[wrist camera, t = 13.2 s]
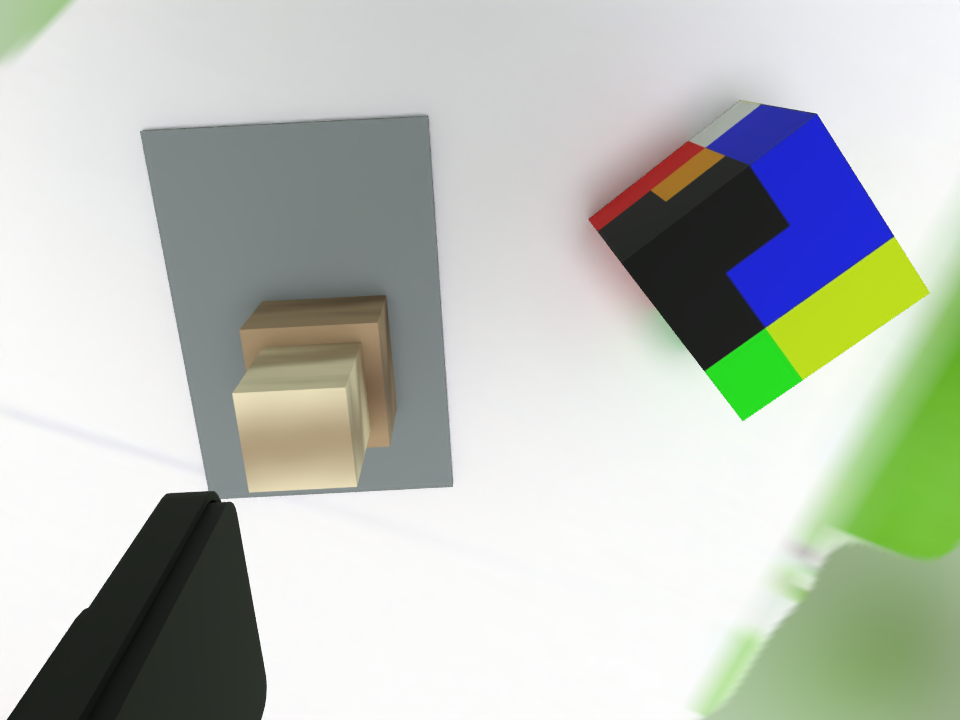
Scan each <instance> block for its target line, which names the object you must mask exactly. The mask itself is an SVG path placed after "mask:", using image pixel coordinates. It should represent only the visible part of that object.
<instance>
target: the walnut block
mask: <svg viewBox="0 0 960 720" xmlns="http://www.w3.org/2000/svg"><path fill="white" fill-rule="evenodd" d="M240 337H241V343H242V349H243V355H244V361H245V368H246V372H247V370H248V369H249V368H250V366H251V365H252V363H253V362H254V360H255V359H256V357H257V356H258V354H259V353H260V351H261V350H262V348H263V347H271V346H291V345H310V344H330V343H349V342H361V344H362V353H363V363H364V372H365V382H366V391H367V401H368V410H369V420H370V429H371V431H370V435H369V439H368V443H367V447H366V448H371V447H390V443H391V437H392V432H393V426H394V421H395V415H396V410H397V406H396V395H395V384H394V373H393V362H392V351H391V341H390V330H389V319H388V308H387V297H386V295H375V296H356V297H337V298H317V299H298V300H279V301H262V302H261V303H260V305H259V306H258V307H257V308H256V310H255V311H254V312H253V313H252V315H251V316H250V317H249V318H248V320H247V321H246V322H245V323H244V325H243V326H242V327H241V328H240Z"/></svg>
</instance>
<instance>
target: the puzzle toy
mask: <svg viewBox="0 0 960 720" xmlns="http://www.w3.org/2000/svg"><path fill="white" fill-rule="evenodd" d="M589 221H590V222H591V223H592V225H593V226H594V227H595V229H596V230H597V231H598V233H599V234H600V235H601V237H602V238H603V239H604V241H605V242H606V243H607V245H608V246H609V247H610V249H611V250H612V251H613V253H614V254H615V255H616V257H617V258H618V259H619V261H620V262H621V263H622V264H623V266H624V267H625V268H626V270H627V271H628V272H629V274H630V275H631V276H632V278H633V279H634V280H635V281H636V283H637V284H638V285H639V287H640V288H641V289H642V291H643V292H644V293H645V294H646V296H647V297H648V298H649V300H650V301H651V302H652V304H653V305H654V306H655V307H656V309H657V310H658V311H659V313H660V314H661V315H662V317H663V318H664V319H665V321H666V322H667V323H668V324H669V326H670V327H671V328H672V330H673V331H674V332H675V334H676V335H677V336H678V337H679V339H680V340H681V341H682V343H683V344H684V345H685V347H686V348H687V349H688V350H689V352H690V353H691V354H692V356H693V357H694V358H695V360H696V361H697V362H698V364H699V365H700V366H701V367H702V369H703V370H704V371H705V373H706V374H707V375H708V377H709V378H710V379H711V380H712V382H713V383H714V384H715V386H716V387H717V388H718V390H719V391H720V392H721V394H722V395H723V396H724V397H725V399H726V400H727V401H728V403H729V404H730V405H731V407H732V408H733V409H734V410H735V412H736V413H737V414H738V416H739V417H740V418H741V420H742V421H744V420H745V419H747V418H748V417H750V416H751V415H753V414H754V413H756V412H757V411H758V410H760V409H761V408H763V407H764V406H766V405H767V404H769V403H770V402H772V401H773V400H775V399H776V398H777V397H779V396H780V395H782V394H783V393H785V392H786V391H788V390H789V389H791V388H792V387H794V386H795V385H796V384H798V383H799V382H801V381H802V380H804V379H805V378H807V377H808V376H810V375H811V374H812V373H814V372H815V371H817V370H818V369H820V368H821V367H823V366H824V365H826V364H827V363H829V362H830V361H831V360H833V359H834V358H836V357H837V356H839V355H840V354H842V353H843V352H845V351H846V350H848V349H849V348H850V347H852V346H853V345H855V344H856V343H858V342H859V341H861V340H862V339H864V338H865V337H866V336H868V335H869V334H871V333H872V332H874V331H875V330H877V329H878V328H880V327H881V326H883V325H884V324H885V323H887V322H888V321H890V320H891V319H893V318H894V317H896V316H897V315H899V314H900V313H901V312H903V311H904V310H906V309H907V308H909V307H910V306H912V305H913V304H915V303H916V302H918V301H919V300H920V299H922V298H923V297H925V296H926V295H928V294H929V293H930V292H929V291H928V289H927V287H926V286H925V284H924V283H923V281H922V280H921V278H920V276H919V275H918V273H917V272H916V270H915V268H914V267H913V265H912V264H911V262H910V261H909V259H908V257H907V256H906V254H905V253H904V251H903V249H902V248H901V246H900V245H899V243H898V241H897V240H896V238H895V237H894V235H893V234H892V232H891V230H890V229H889V227H888V226H887V224H886V222H885V221H884V219H883V218H882V216H881V215H880V213H879V211H878V210H877V208H876V207H875V205H874V203H873V202H872V200H871V199H870V197H869V196H868V194H867V192H866V191H865V189H864V188H863V186H862V184H861V183H860V181H859V180H858V178H857V176H856V175H855V173H854V172H853V170H852V169H851V167H850V165H849V164H848V162H847V161H846V159H845V157H844V156H843V154H842V153H841V151H840V150H839V148H838V146H837V145H836V143H835V142H834V140H833V138H832V137H831V135H830V134H829V132H828V130H827V129H826V127H825V126H824V124H823V123H822V121H821V119H820V118H819V116H818V115H817V114H816V113H810V112H804V111H799V110H793V109H787V108H782V107H776V106H770V105H765V104H759V103H753V102H748V101H742V100H740V101H739V102H737V103H736V104H735V105H734V106H732V107H731V108H730V109H728V110H727V111H726V112H725V113H723V114H722V115H721V116H720V117H718V118H717V119H716V120H714V121H713V122H712V123H711V124H709V125H708V126H707V127H705V128H704V129H703V130H702V131H700V132H699V133H698V134H697V135H695V136H694V137H693V138H691V139H690V140H689V141H688V142H686V143H685V144H684V145H683V146H681V147H680V148H679V149H677V150H676V151H675V152H674V153H672V154H671V155H670V156H669V157H667V158H666V159H665V160H663V161H662V162H661V163H660V164H658V165H657V166H656V167H655V168H653V169H652V170H651V171H649V172H648V173H647V174H646V175H644V176H643V177H642V178H640V179H639V180H638V181H637V182H635V183H634V184H633V185H632V186H630V187H629V188H628V189H626V190H625V191H624V192H623V193H621V194H620V195H619V196H618V197H616V198H615V199H614V200H612V201H611V202H610V203H609V204H607V205H606V206H605V207H604V208H602V209H601V210H600V211H598V212H597V213H596V214H595V215H593V216H592V217H591V218H590V219H589Z"/></svg>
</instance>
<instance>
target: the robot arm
mask: <svg viewBox="0 0 960 720" xmlns="http://www.w3.org/2000/svg"><path fill="white" fill-rule="evenodd" d="M266 691H267V684H266V674H265V668H264V662H263V657H262V651H261V646H260V640H259V634H258V629H257V623H256V618H255V612H254V606H253V601H252V595H251V589H250V584H249V578H248V573H247V567H246V561H245V556H244V550H243V545H242V539H241V533H240V528H239V522H238V517H237V512H236V508H235V506H234V504H233V503H232V502H221V500H220V498H219V496H218V494H217V493H216V492H215V491H204V492H185V493H169V494H166V495H165V496H164V497H163V498H162V499H161V500H160V502H159V503H158V505H157V506H156V508H155V509H154V511H153V512H152V514H151V515H150V517H149V518H148V520H147V521H146V523H145V524H144V526H143V527H142V529H141V530H140V532H139V533H138V535H137V536H136V538H135V539H134V541H133V542H132V544H131V545H130V547H129V548H128V550H127V551H126V553H125V554H124V556H123V557H122V559H121V560H120V562H119V563H118V565H117V566H116V568H115V569H114V571H113V572H112V574H111V575H110V577H109V578H108V579H107V581H106V582H105V584H104V585H103V587H102V588H101V590H100V591H99V593H98V594H97V596H96V597H95V599H94V600H93V602H92V603H91V605H90V606H89V608H86V609H84V610H83V611H82V612H81V613H80V615H79V616H78V617H77V618H76V619H75V620H74V622H73V623H72V625H71V626H70V628H69V629H68V631H67V632H66V634H65V635H64V637H63V638H62V640H61V641H60V642H59V644H58V645H57V647H56V648H55V650H54V651H53V653H52V654H51V656H50V657H49V659H48V660H47V662H46V663H45V664H44V666H43V667H42V669H41V670H40V672H39V673H38V675H37V676H36V678H35V679H34V681H33V682H32V684H31V685H30V687H29V688H28V689H27V691H26V692H25V694H24V695H23V697H22V698H21V700H20V701H19V703H18V704H17V706H16V707H15V709H14V710H13V712H12V713H11V714H10V716H9V717H8V719H7V720H261V718H262V715H263V711H264V707H265V702H266Z"/></svg>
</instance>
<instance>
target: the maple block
mask: <svg viewBox="0 0 960 720" xmlns="http://www.w3.org/2000/svg"><path fill="white" fill-rule="evenodd" d="M232 395H233V401H234V407H235V413H236V419H237V425H238V430H239V436H240V442H241V448H242V454H243V460H244V466H245V472H246V477H247V483H248V489H249V493H250V492H269V491H288V490H307V489H326V488H346V487H357V485H358V481H359V477H360V472H361V468H362V464H363V460H364V456H365V452H366V447H367V443H368V439H369V435H370V431H371V429H370V420H369V410H368V401H367V391H366V382H365V372H364V363H363V353H362V344H361V342H349V343H330V344H310V345H291V346H271V347H263V348H262V350H261V351H260V353H259V354H258V356H257V357H256V359H255V360H254V362H253V363H252V365H251V366H250V368H249V369H248V370H247V372H246V373H245V375H244V376H243V378H242V379H241V381H240V382H239V384H238V385H237V387H236V388H235V390H234V391H233V393H232Z"/></svg>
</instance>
